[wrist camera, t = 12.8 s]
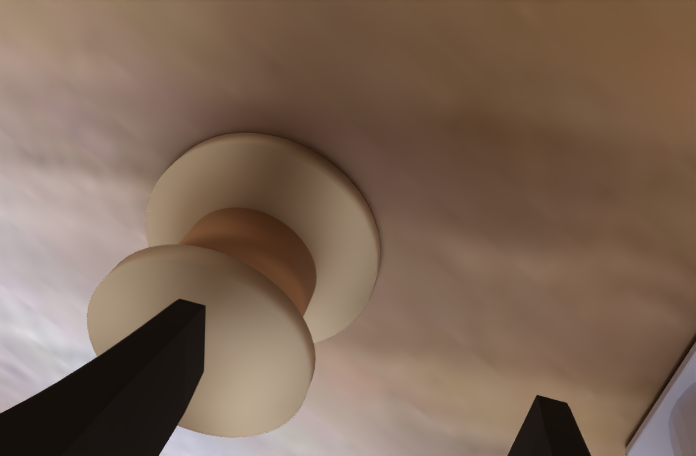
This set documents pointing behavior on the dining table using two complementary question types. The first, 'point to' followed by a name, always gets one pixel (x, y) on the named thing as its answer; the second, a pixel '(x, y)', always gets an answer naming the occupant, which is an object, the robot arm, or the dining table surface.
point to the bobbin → (247, 273)
